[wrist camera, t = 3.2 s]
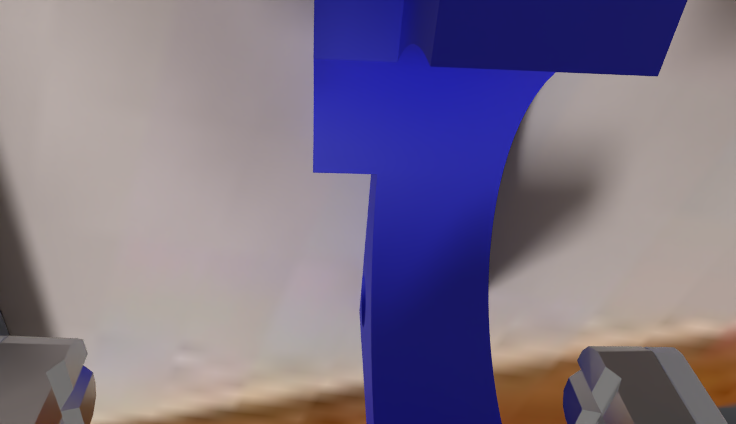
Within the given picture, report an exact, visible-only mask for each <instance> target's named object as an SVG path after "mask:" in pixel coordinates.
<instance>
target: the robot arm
mask: <svg viewBox="0 0 736 424" xmlns="http://www.w3.org/2000/svg"><path fill="white" fill-rule="evenodd" d="M87 354H88V353H87V350H86V347H85V344H84V341H83V339H77V338H55V337H31V336H0V424H90V422H91V419H92V416H93V411H94V405H95V399H96V384H95V379H94V375H93V372H92V371H90V370H89V369H87V368H86V367H85V366H83V364H84V362H85V359H86V357H87ZM577 361H578V363H579V366H580V368H581V370H580V371H578V372H577V373H575V374H574V375H572V376H571V377H569V379H568V381H567V384H566V386H565V388H564V395H563V408H564V413H565V418H566V421H567V424H728V423H727V422H726V420H725V419H724V417H723V416H722V414H721V413H720V411H719V410H718V408H717V407H716V405H715V403H714V402H713V400H712V399H711V397H710V396H709V394H708V393H707V391H706V390H705V388H704V387H703V385H702V384H701V382H700V381H699V379H698V378H697V376H696V374H695V373H694V371H693V370H692V368H691V367H690V365H689V364H688V362H687V361H686V359H685V358H684V356H683V355H682V354H681V352H679V351H678V350H677V349H675V348H672V347H631V346H589V347H587V348H586V349H584V350H583V351H582V352H581V354H580V356H579V358H578V360H577Z"/></svg>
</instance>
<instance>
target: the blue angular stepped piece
mask: <svg viewBox="0 0 736 424" xmlns="http://www.w3.org/2000/svg"><path fill="white" fill-rule="evenodd" d="M686 2H687V0H314V150H313V173H352V174H371V182H370V194H369V206H368V218H367V229H366V241H365V253H364V265H363V277H362V289H361V301H360V326H361V342H362V358H363V373H364V389H365V405H366V421H367V424H502V423H501V418H500V413H499V408H498V402H497V396H496V390H495V383H494V376H493V367H492V358H491V347H490V334H489V308H488V284H489V259H490V246H491V236H492V227H493V220H494V213H495V207H496V201H497V196H498V191H499V186H500V182H501V178H502V174H503V170H504V166H505V163H506V160H507V156H508V153H509V150H510V147H511V144H512V142H513V139H514V136H515V134H516V131H517V129H518V127H519V125H520V122H521V120H522V118H523V116H524V114H525V112H526V110H527V109H528V107H529V105H530V103H531V102H532V100H533V99H534V97H535V96H536V94H537V93H538V91H539V90H540V89H541V88H542V86H543V85H544V84H545V82H546V81H547V80H548V79H549V78H550V77H551V76H552V75H553V74H554V73H555V72H568V73H592V74H615V75H639V76H658V74H659V72H660V69H661V67H662V64H663V61H664V59H665V56H666V54H667V51H668V49H669V46H670V43H671V41H672V38H673V36H674V33H675V31H676V28H677V26H678V23H679V20H680V18H681V15H682V13H683V10H684V8H685V5H686Z"/></svg>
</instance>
